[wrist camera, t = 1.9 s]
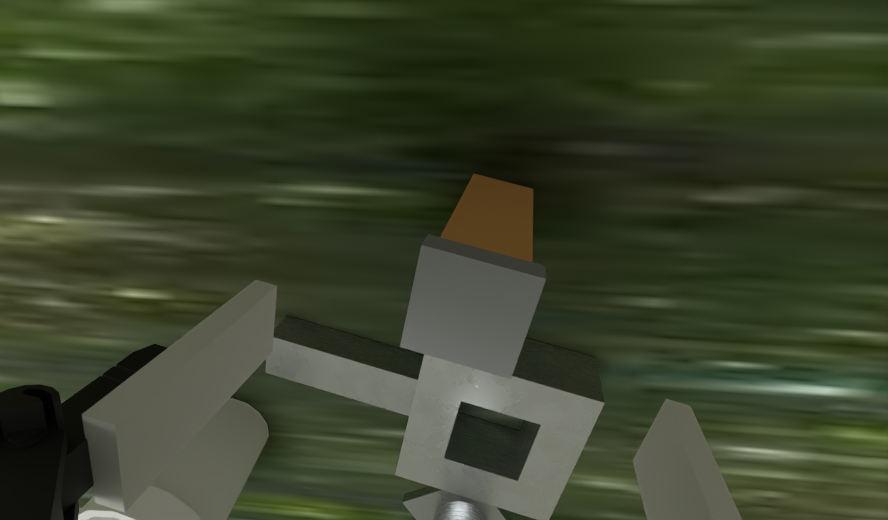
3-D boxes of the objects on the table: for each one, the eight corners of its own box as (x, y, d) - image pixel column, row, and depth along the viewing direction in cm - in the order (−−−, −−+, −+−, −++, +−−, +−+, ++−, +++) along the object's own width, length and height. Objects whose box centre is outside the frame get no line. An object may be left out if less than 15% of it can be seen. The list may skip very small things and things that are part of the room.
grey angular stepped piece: (290, 270, 36) (89, 445, 20) (595, 357, 34) (650, 628, 18) (275, 455, 45) (127, 683, 28) (518, 532, 43) (508, 821, 27)
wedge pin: (469, 166, 30) (421, 245, 17) (541, 184, 30) (546, 278, 17) (453, 232, 32) (399, 347, 20) (520, 250, 32) (510, 379, 19)
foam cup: (290, 405, 42) (195, 541, 30) (278, 474, 46) (190, 618, 34) (193, 371, 42) (61, 492, 30) (190, 442, 46) (72, 572, 34)
